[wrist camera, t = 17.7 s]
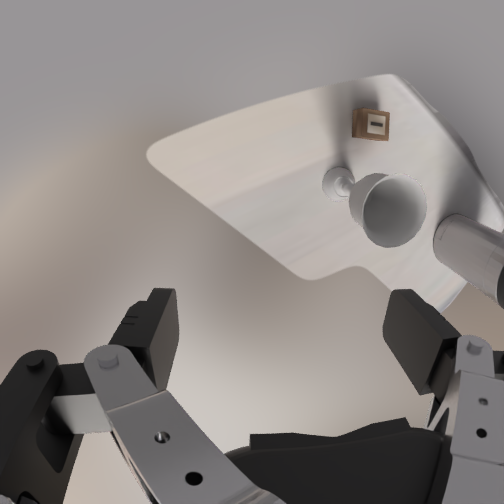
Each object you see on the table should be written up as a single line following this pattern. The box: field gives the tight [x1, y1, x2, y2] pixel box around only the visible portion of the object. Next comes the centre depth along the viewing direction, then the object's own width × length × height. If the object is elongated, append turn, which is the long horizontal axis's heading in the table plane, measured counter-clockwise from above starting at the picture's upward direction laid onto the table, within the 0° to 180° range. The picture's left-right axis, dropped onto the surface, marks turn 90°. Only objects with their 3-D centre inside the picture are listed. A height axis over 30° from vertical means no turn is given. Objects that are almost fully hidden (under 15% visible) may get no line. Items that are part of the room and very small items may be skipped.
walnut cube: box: [352, 108, 390, 141], centre depth 39 cm, size 4×4×4 cm
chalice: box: [322, 167, 427, 248], centre depth 35 cm, size 7×7×18 cm
